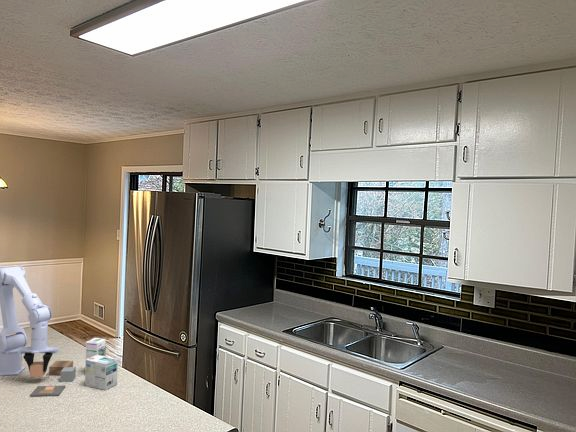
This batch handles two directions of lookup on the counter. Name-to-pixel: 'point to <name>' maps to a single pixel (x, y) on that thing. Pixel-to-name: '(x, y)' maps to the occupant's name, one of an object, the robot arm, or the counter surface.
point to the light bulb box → (101, 372)
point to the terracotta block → (36, 369)
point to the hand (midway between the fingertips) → (38, 371)
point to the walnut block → (59, 367)
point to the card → (47, 391)
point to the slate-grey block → (68, 374)
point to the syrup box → (95, 347)
